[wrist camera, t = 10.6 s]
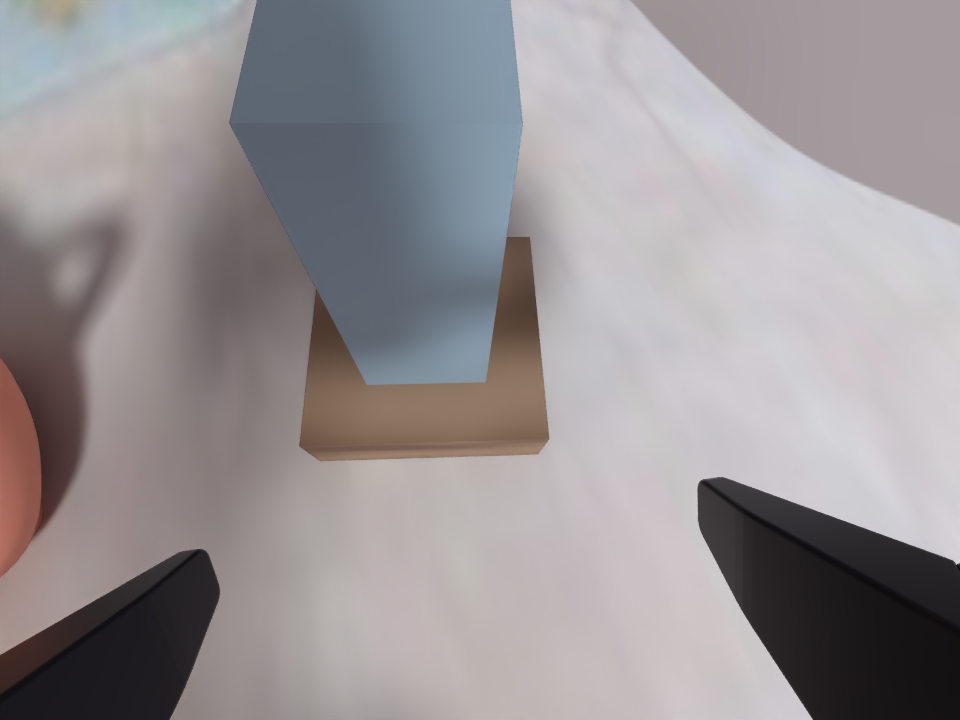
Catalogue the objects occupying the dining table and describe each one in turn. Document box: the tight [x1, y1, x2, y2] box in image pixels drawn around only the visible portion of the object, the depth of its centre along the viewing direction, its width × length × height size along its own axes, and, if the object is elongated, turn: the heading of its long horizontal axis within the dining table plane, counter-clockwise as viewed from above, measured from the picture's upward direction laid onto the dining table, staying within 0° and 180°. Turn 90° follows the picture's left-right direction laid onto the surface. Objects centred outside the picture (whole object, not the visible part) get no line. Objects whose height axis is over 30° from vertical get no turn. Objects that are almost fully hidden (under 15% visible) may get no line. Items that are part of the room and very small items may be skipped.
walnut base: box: [299, 237, 549, 461], centre depth 23 cm, size 10×10×3 cm
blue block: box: [229, 0, 523, 385], centre depth 15 cm, size 5×5×13 cm
